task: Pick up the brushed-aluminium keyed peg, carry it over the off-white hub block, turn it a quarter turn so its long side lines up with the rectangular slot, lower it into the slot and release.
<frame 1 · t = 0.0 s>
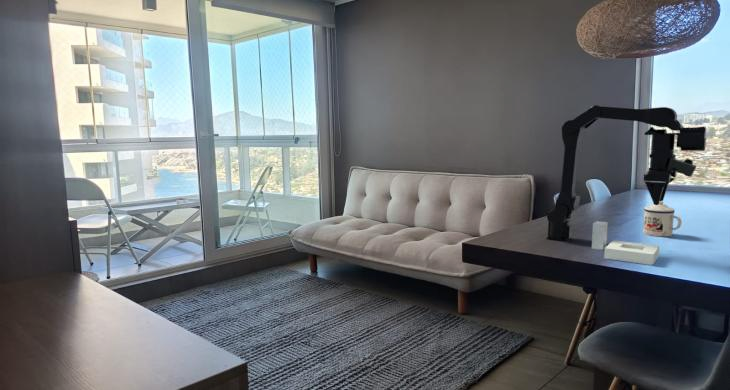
hand: (658, 202, 141), 15 cm above the table, fingers open, 9 cm apart
teacup with lid: (661, 235, 164), on the table
keyed peg: (599, 248, 148), on the table
hub block: (631, 257, 137), on the table
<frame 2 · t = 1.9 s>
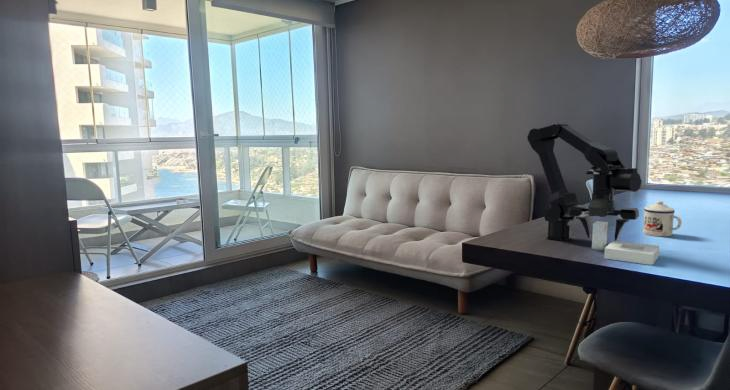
hand: (602, 239, 147), 3 cm above the table, fingers open, 7 cm apart
nothing on the table moved.
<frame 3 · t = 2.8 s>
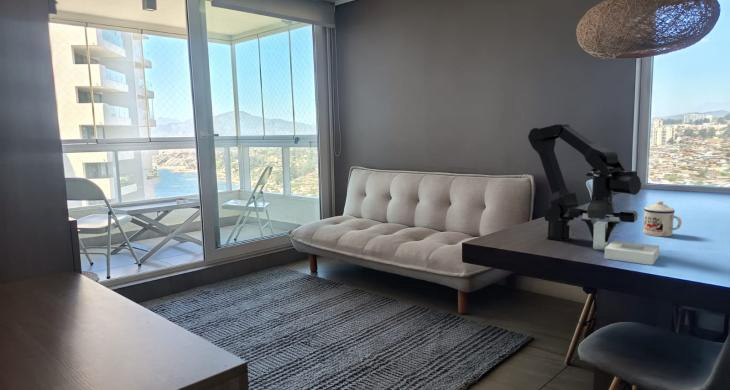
hand: (600, 241, 147), 2 cm above the table, fingers closed on keyed peg, 3 cm apart
keyed peg: (600, 248, 147), on the table, touching gripper
everything else where it was.
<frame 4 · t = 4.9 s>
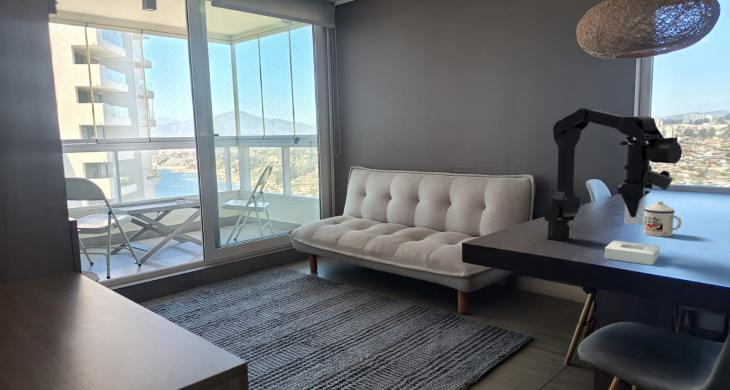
hand: (634, 216, 135), 12 cm above the table, fingers closed on keyed peg, 3 cm apart
keyed peg: (633, 223, 135), point 10 cm above the table, touching gripper
everything else where it was.
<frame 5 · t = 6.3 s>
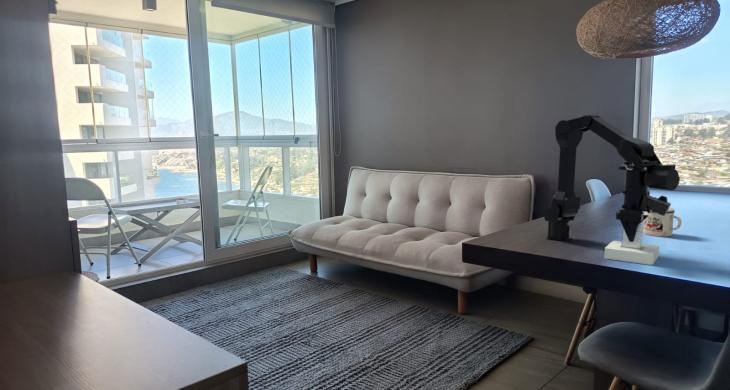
hand: (632, 240, 136), 5 cm above the table, fingers closed on keyed peg, 3 cm apart
keyed peg: (631, 247, 136), point 3 cm above the table, touching gripper
everything else where it was.
when the fingers open (4 cm above the table, at t = 7.1 s): keyed peg drops 2 cm, resting in hub block.
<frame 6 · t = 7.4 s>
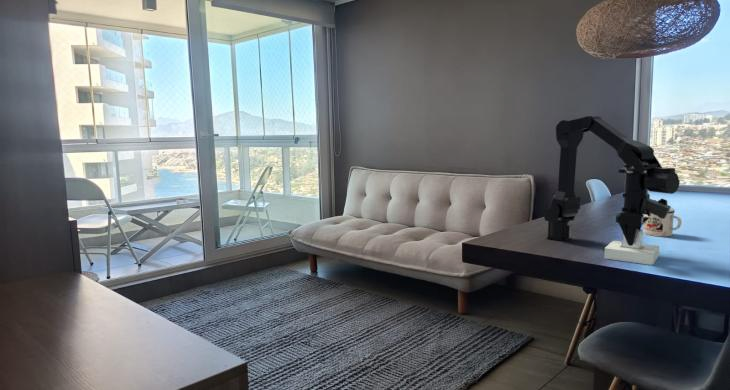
hand: (632, 243, 136), 4 cm above the table, fingers open, 6 cm apart
keyed peg: (631, 257, 137), resting in hub block
everything else where it was.
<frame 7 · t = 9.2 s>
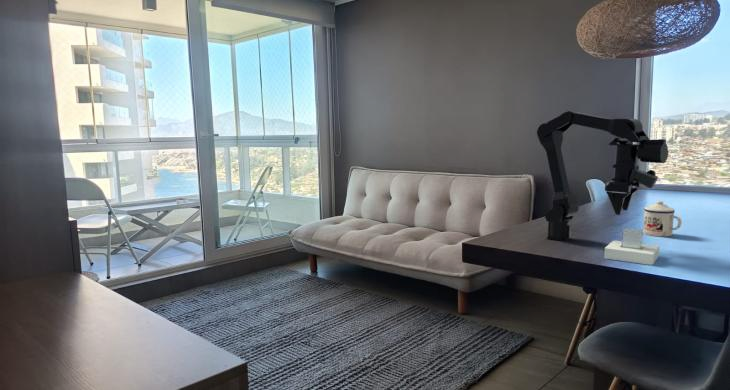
hand: (621, 212, 144), 12 cm above the table, fingers open, 9 cm apart
nothing on the table moved.
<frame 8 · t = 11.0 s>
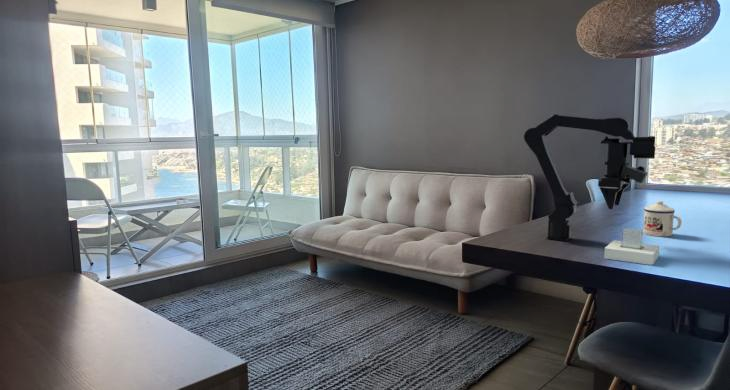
hand: (613, 207, 151), 12 cm above the table, fingers open, 9 cm apart
nothing on the table moved.
at the end: keyed peg 0.1 cm off-centre on the hub block, point 0.0 cm above the hub block's base; keyed peg tilted 0°; the gripper is holding nothing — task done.
